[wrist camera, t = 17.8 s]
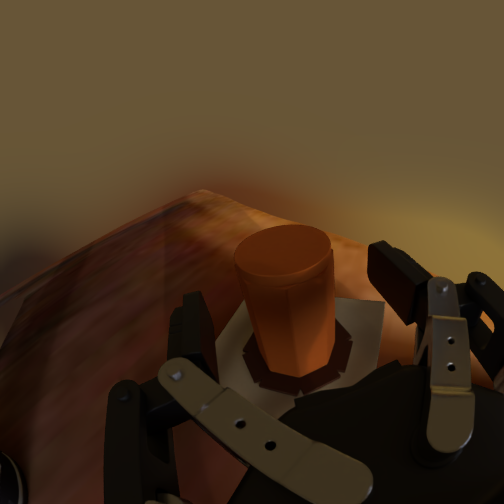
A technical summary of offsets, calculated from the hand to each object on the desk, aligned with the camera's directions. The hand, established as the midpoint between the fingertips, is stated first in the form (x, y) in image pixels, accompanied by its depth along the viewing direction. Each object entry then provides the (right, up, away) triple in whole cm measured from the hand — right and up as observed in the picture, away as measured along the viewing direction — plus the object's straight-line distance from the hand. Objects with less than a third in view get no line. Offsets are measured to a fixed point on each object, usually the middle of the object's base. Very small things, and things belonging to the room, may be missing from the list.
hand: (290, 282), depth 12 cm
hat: (+2, -6, +7) cm, 10 cm away
